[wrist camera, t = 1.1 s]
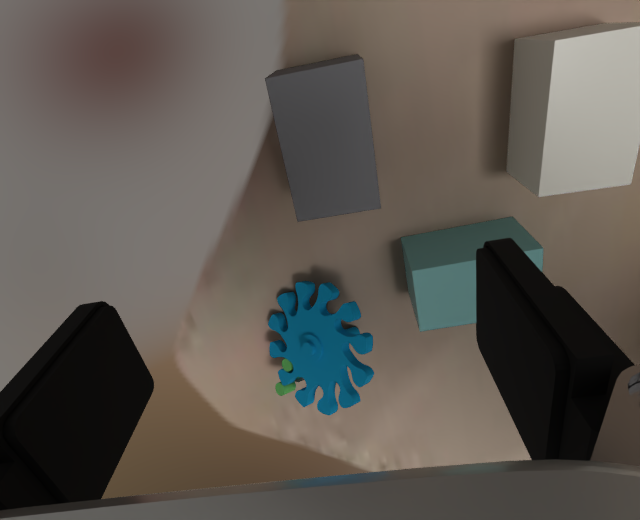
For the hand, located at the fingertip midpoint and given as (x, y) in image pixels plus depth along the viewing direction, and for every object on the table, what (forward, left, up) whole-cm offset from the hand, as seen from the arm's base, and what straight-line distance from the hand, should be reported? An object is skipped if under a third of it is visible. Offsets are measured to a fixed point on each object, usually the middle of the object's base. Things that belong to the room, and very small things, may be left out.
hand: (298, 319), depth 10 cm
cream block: (-15, 0, -19) cm, 24 cm away
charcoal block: (-1, -1, -19) cm, 19 cm away
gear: (+3, +14, -19) cm, 24 cm away
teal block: (-9, +10, -19) cm, 23 cm away
